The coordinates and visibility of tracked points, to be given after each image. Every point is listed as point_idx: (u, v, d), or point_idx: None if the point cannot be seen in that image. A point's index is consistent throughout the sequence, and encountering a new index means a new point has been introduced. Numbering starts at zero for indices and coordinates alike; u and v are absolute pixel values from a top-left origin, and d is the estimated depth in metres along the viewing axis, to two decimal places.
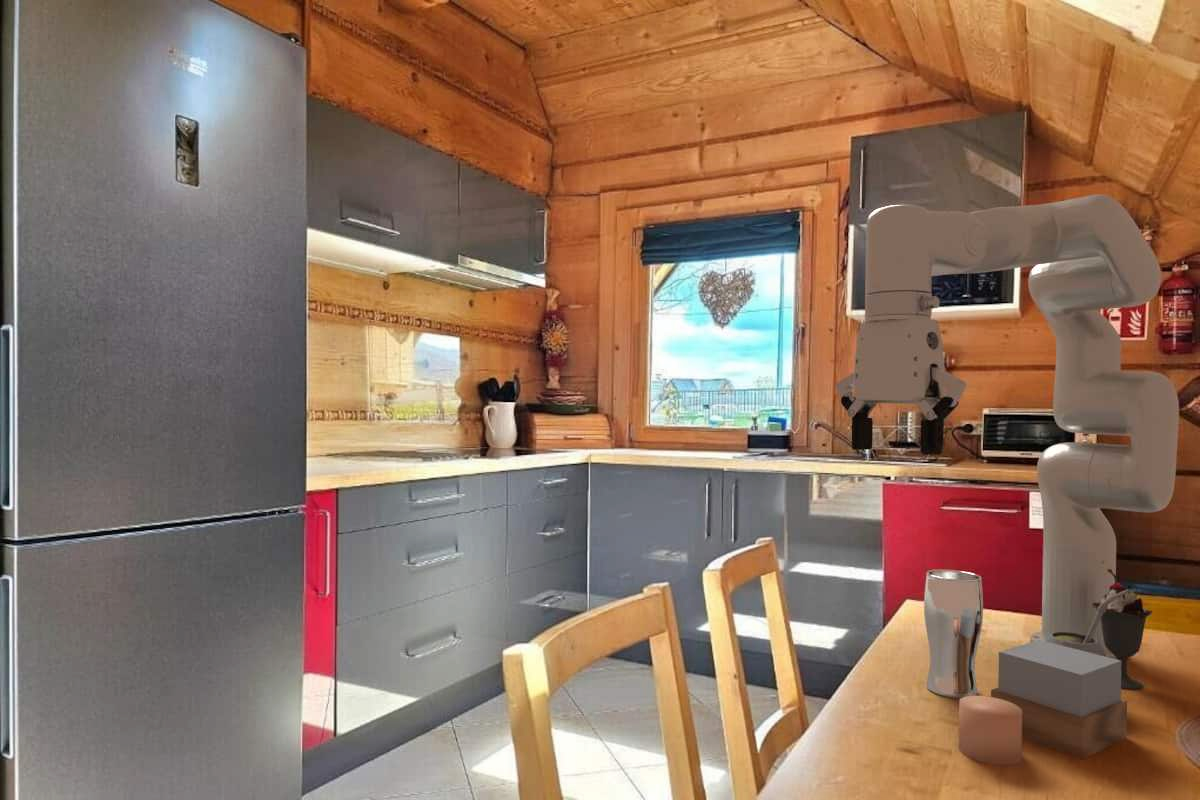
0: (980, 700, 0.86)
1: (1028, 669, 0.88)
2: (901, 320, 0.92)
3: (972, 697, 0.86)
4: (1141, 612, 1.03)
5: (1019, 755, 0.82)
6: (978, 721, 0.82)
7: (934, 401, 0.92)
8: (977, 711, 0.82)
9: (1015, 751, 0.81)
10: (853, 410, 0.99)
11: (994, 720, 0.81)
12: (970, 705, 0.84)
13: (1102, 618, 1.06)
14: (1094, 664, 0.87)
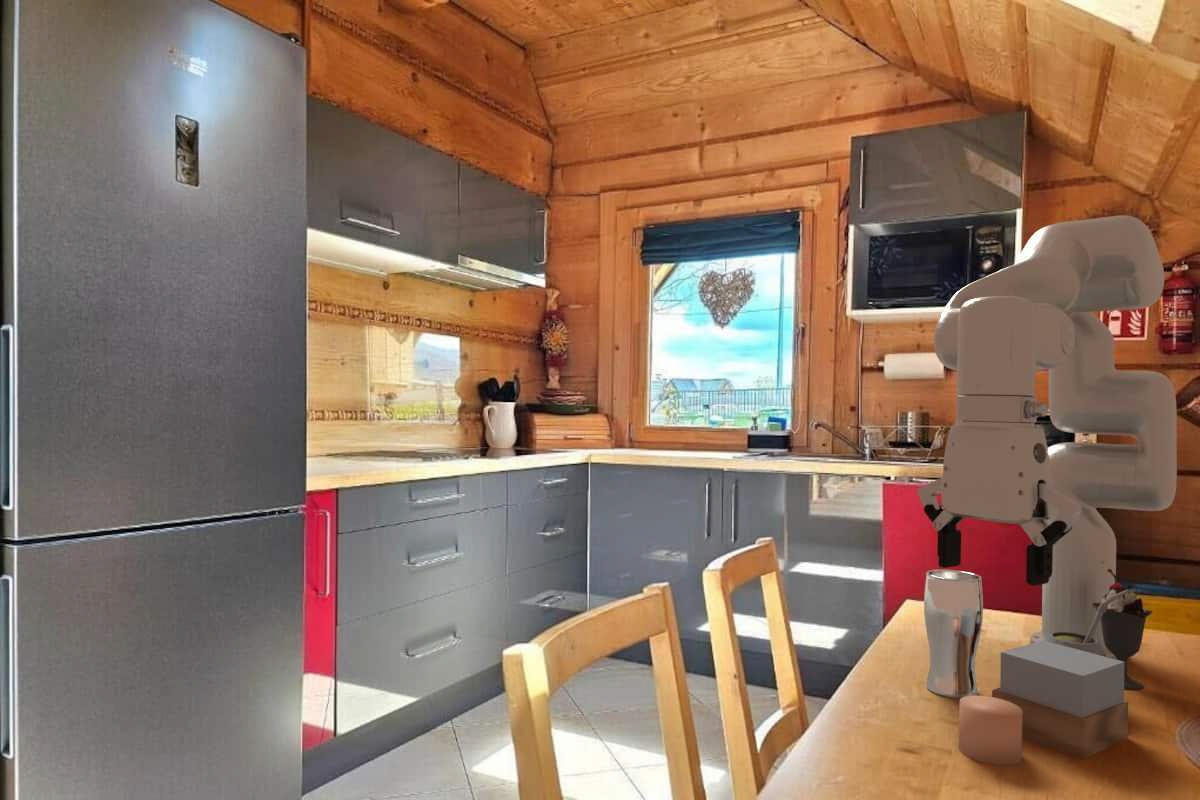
0: (980, 700, 0.86)
1: (1030, 669, 0.88)
2: (1003, 428, 0.81)
3: (972, 697, 0.86)
4: (1141, 612, 1.03)
5: (1019, 755, 0.82)
6: (978, 720, 0.82)
7: (1040, 522, 0.80)
8: (977, 711, 0.82)
9: (1015, 751, 0.81)
10: (940, 522, 0.87)
11: (994, 720, 0.81)
12: (971, 705, 0.84)
13: (1102, 618, 1.06)
14: (1096, 665, 0.87)
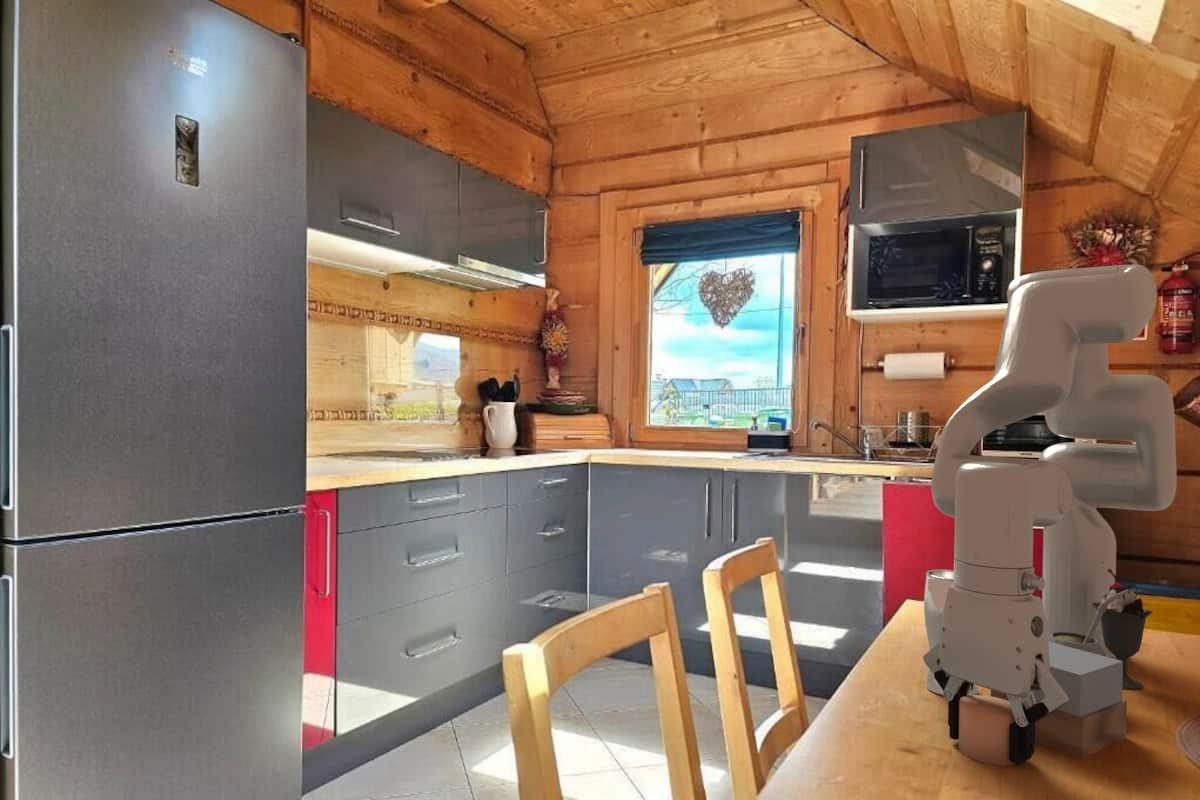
0: (980, 699, 0.86)
1: None
2: (1000, 600, 0.81)
3: (972, 696, 0.86)
4: (1141, 612, 1.03)
5: None
6: (978, 720, 0.82)
7: (1028, 697, 0.81)
8: (977, 710, 0.82)
9: None
10: (950, 692, 0.86)
11: (994, 720, 0.81)
12: (970, 705, 0.84)
13: (1102, 618, 1.06)
14: (1094, 664, 0.87)
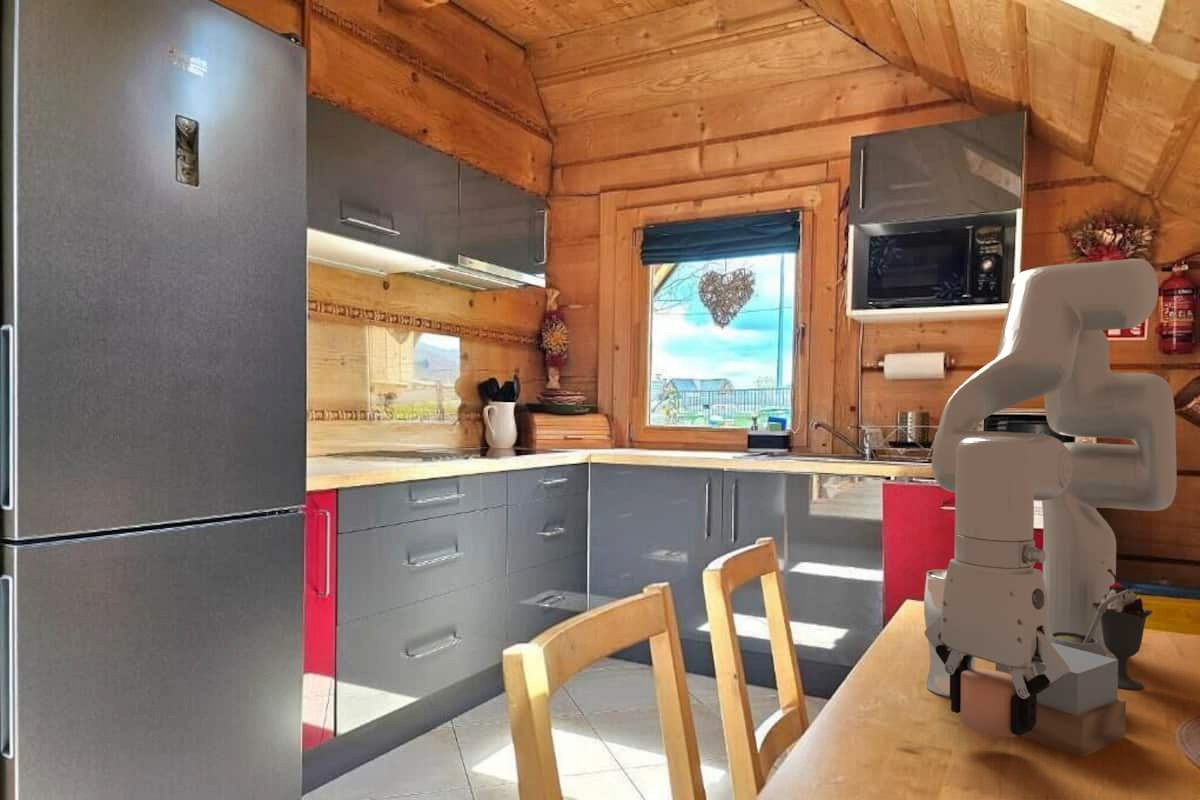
0: (981, 673, 0.86)
1: None
2: (1001, 573, 0.81)
3: (973, 670, 0.87)
4: (1141, 612, 1.03)
5: None
6: (980, 693, 0.82)
7: (1030, 669, 0.82)
8: (978, 683, 0.83)
9: None
10: (951, 666, 0.87)
11: (996, 692, 0.81)
12: (972, 678, 0.84)
13: (1102, 618, 1.06)
14: (1091, 662, 0.87)
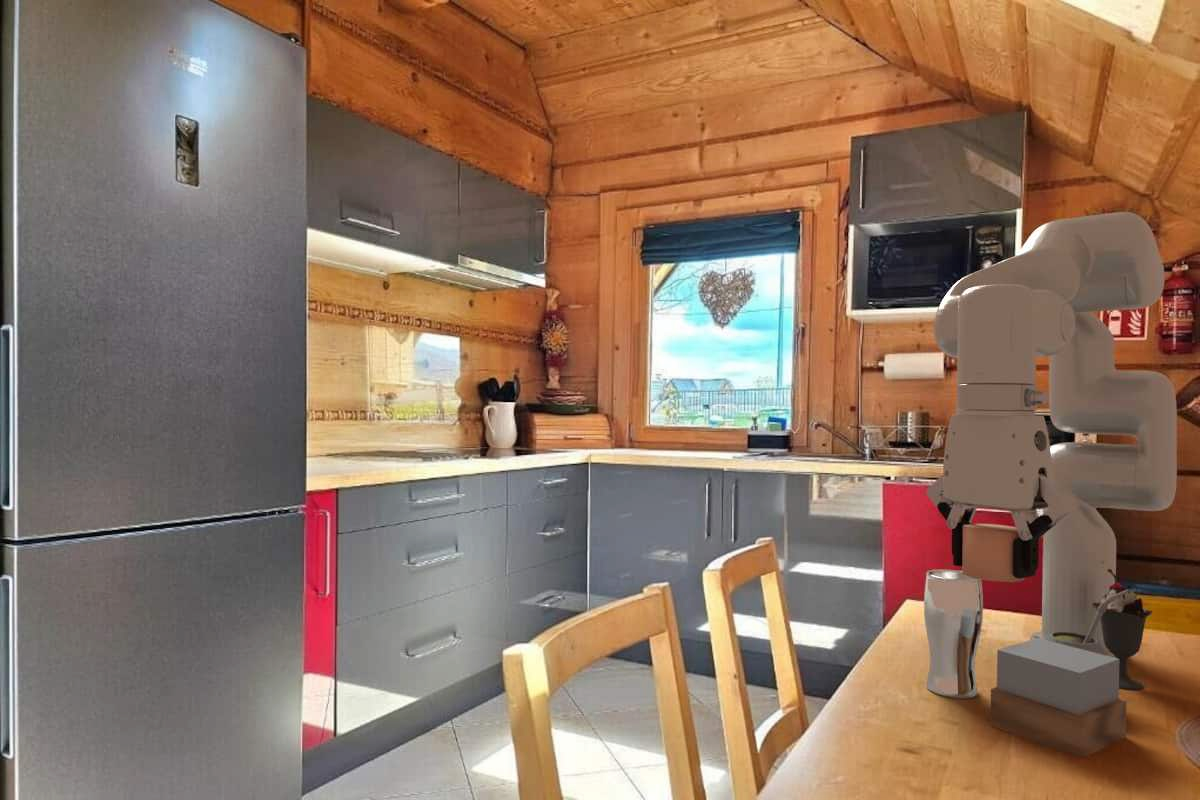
0: (983, 525, 0.86)
1: (1026, 667, 0.88)
2: (1003, 417, 0.81)
3: (975, 524, 0.87)
4: (1141, 612, 1.03)
5: None
6: (982, 539, 0.82)
7: (1032, 514, 0.82)
8: (980, 530, 0.83)
9: None
10: (953, 520, 0.87)
11: (998, 537, 0.81)
12: (974, 528, 0.84)
13: (1102, 618, 1.06)
14: (1092, 662, 0.87)
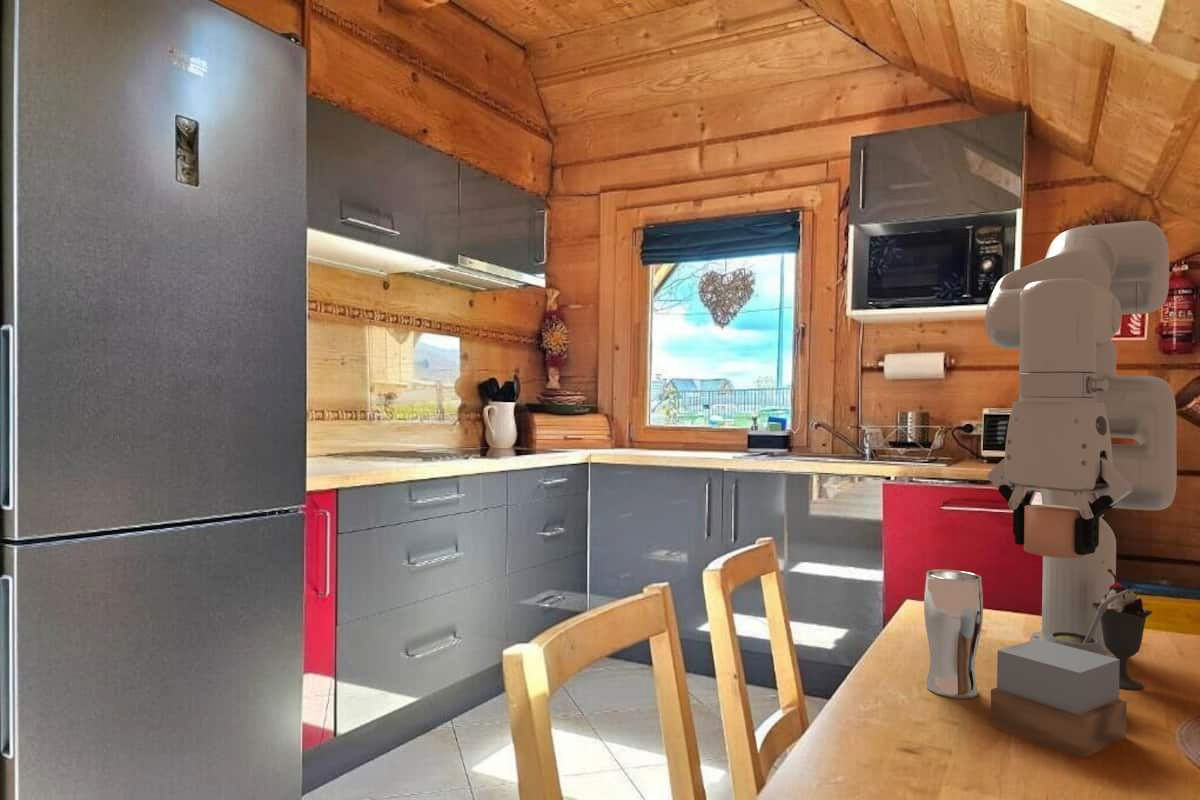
0: (1044, 506, 0.91)
1: (1027, 667, 0.88)
2: (1066, 403, 0.86)
3: (1035, 505, 0.92)
4: (1141, 612, 1.03)
5: None
6: (1045, 518, 0.87)
7: (1092, 495, 0.87)
8: (1043, 510, 0.88)
9: None
10: (1015, 501, 0.92)
11: (1060, 516, 0.87)
12: (1036, 508, 0.89)
13: (1102, 618, 1.06)
14: (1092, 662, 0.87)
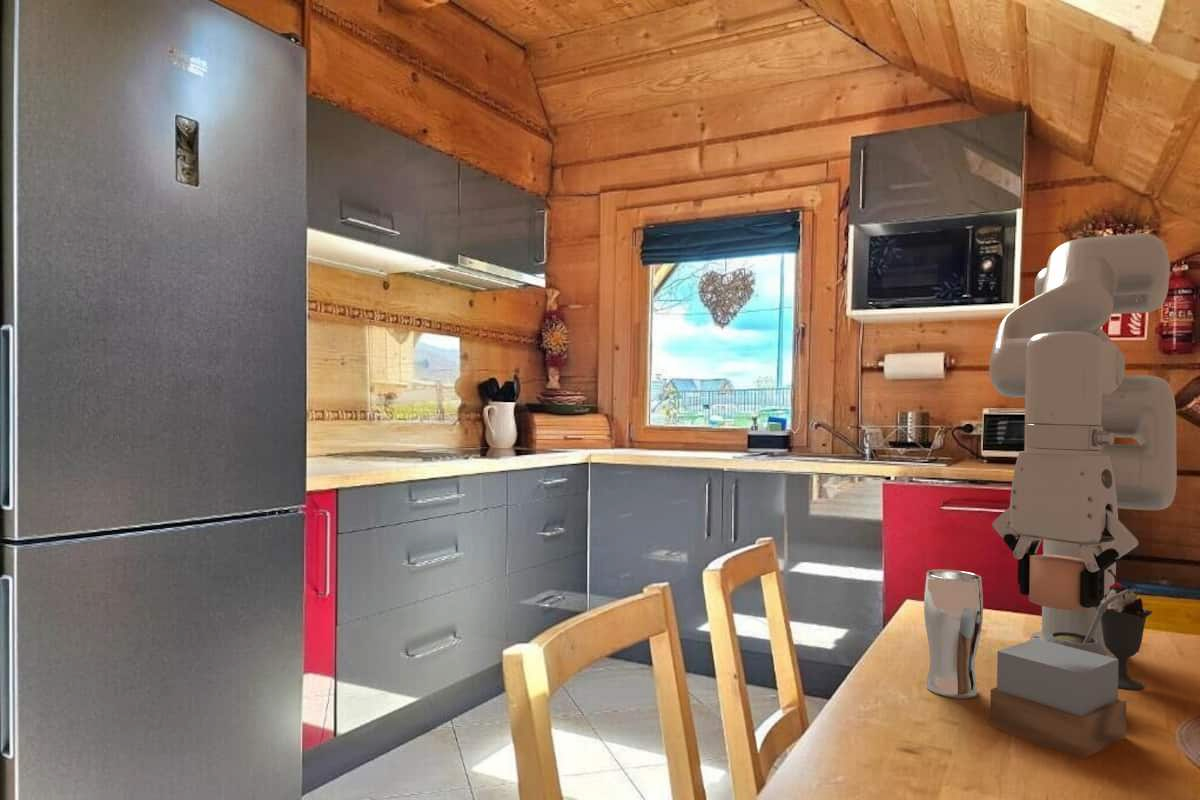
0: (1049, 556, 0.91)
1: (1027, 668, 0.88)
2: (1072, 455, 0.87)
3: (1040, 555, 0.92)
4: (1141, 612, 1.03)
5: None
6: (1050, 569, 0.87)
7: (1098, 547, 0.87)
8: (1048, 561, 0.88)
9: None
10: (1020, 551, 0.92)
11: (1066, 567, 0.87)
12: (1041, 558, 0.90)
13: (1102, 618, 1.06)
14: (1092, 662, 0.87)
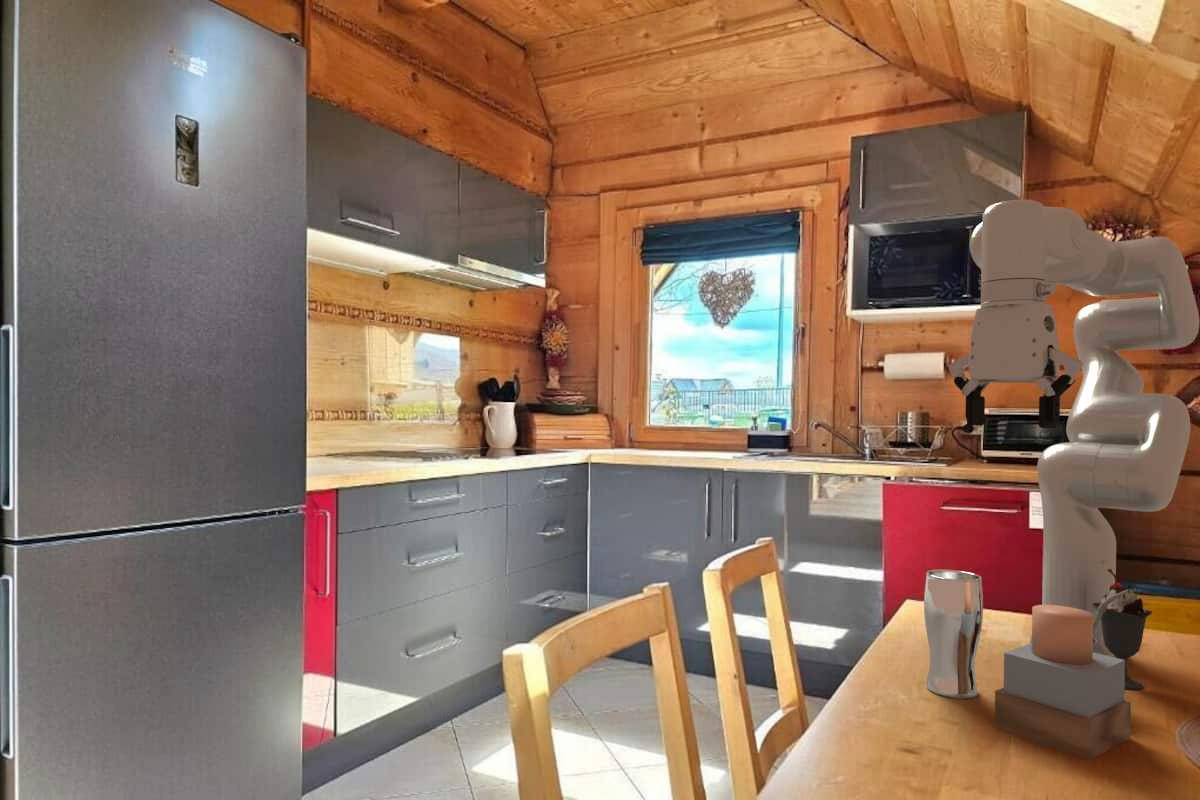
0: (1051, 607, 0.91)
1: (1035, 670, 0.88)
2: (1019, 305, 1.01)
3: (1042, 606, 0.92)
4: (1141, 612, 1.03)
5: (1091, 654, 0.88)
6: (1054, 623, 0.88)
7: (1050, 379, 1.01)
8: (1052, 614, 0.88)
9: (1088, 650, 0.87)
10: (968, 389, 1.08)
11: (1070, 621, 0.87)
12: (1044, 611, 0.90)
13: (1102, 618, 1.06)
14: (1099, 664, 0.87)
